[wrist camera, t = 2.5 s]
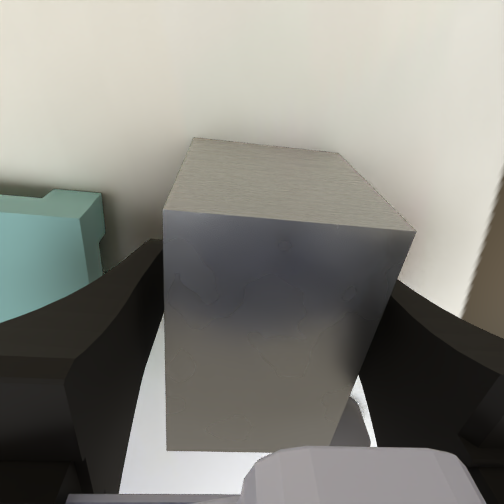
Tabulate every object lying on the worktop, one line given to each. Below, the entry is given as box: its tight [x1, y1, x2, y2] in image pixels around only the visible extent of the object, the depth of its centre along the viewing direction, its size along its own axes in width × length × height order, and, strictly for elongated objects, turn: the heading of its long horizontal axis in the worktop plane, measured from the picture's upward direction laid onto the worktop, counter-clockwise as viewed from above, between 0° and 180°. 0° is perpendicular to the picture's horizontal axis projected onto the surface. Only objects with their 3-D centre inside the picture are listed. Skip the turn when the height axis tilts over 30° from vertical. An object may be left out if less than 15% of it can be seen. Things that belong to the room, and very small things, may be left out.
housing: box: [163, 137, 416, 453], centre depth 11 cm, size 9×5×6 cm, turn 173°
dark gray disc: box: [329, 397, 371, 447], centre depth 19 cm, size 5×5×2 cm
